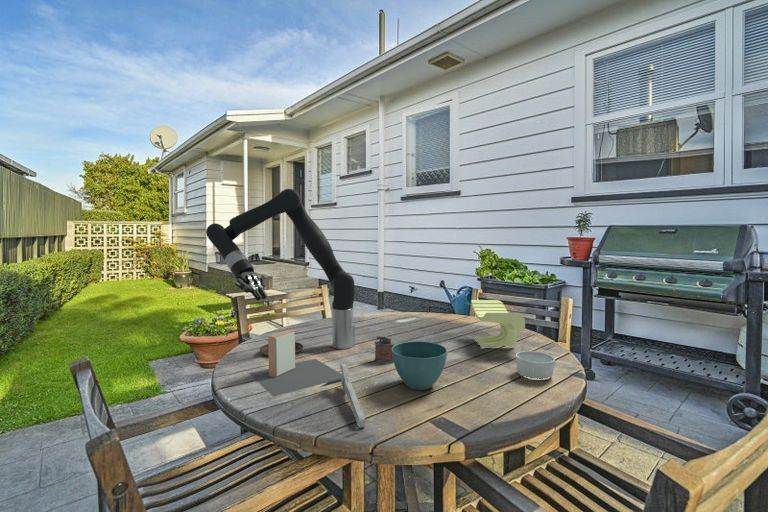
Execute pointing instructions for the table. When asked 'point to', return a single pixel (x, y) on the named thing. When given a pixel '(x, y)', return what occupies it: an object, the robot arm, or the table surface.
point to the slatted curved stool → (498, 314)
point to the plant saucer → (265, 350)
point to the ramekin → (535, 364)
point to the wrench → (352, 396)
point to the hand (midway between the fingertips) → (262, 298)
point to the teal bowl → (419, 363)
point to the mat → (298, 377)
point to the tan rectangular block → (281, 352)
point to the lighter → (384, 349)
